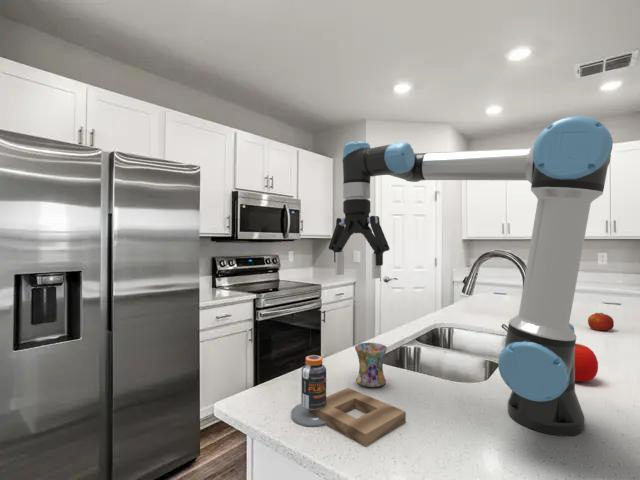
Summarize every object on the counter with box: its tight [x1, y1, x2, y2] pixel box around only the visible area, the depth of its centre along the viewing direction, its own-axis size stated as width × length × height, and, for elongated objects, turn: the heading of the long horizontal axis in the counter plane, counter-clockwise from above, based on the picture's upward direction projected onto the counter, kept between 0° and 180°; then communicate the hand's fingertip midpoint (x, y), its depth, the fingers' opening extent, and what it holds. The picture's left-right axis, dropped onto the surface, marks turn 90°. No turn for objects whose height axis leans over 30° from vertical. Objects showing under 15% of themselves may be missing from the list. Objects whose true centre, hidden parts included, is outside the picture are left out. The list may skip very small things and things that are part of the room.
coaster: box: [290, 403, 328, 428], centre depth 86 cm, size 11×11×1 cm
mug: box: [354, 342, 388, 388], centre depth 106 cm, size 12×9×11 cm
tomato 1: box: [575, 343, 599, 383], centre depth 106 cm, size 10×11×11 cm
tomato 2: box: [587, 312, 615, 332], centre depth 163 cm, size 9×9×8 cm
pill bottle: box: [300, 354, 327, 409], centre depth 86 cm, size 6×6×11 cm
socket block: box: [308, 387, 407, 447], centre depth 84 cm, size 18×14×2 cm
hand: (357, 276), depth 100 cm, fingers open, 13 cm apart
